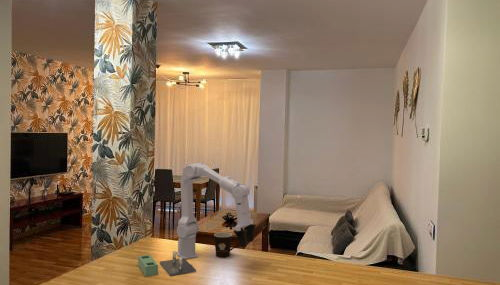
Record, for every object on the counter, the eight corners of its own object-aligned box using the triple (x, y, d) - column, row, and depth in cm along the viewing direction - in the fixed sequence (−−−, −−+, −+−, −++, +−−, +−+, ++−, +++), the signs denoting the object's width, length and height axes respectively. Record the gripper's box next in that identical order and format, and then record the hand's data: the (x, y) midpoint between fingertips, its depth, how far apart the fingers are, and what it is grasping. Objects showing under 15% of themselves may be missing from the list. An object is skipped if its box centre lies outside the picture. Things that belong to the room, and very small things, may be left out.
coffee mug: (210, 256, 184) (210, 235, 184) (219, 251, 192) (220, 231, 192) (231, 261, 179) (231, 239, 178) (240, 255, 187) (241, 234, 186)
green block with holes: (138, 265, 171) (138, 256, 171) (149, 263, 174) (149, 254, 173) (145, 276, 159) (145, 266, 159) (157, 274, 161) (157, 264, 161)
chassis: (159, 263, 174) (159, 251, 174) (183, 260, 179) (183, 248, 179) (170, 276, 160) (170, 262, 159) (195, 271, 165) (196, 258, 165)
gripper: (244, 215, 163) (248, 248, 162) (257, 209, 176) (261, 239, 176) (229, 216, 165) (233, 248, 165) (243, 210, 179) (247, 239, 178)
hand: (247, 243), depth 170 cm, fingers open, 7 cm apart
